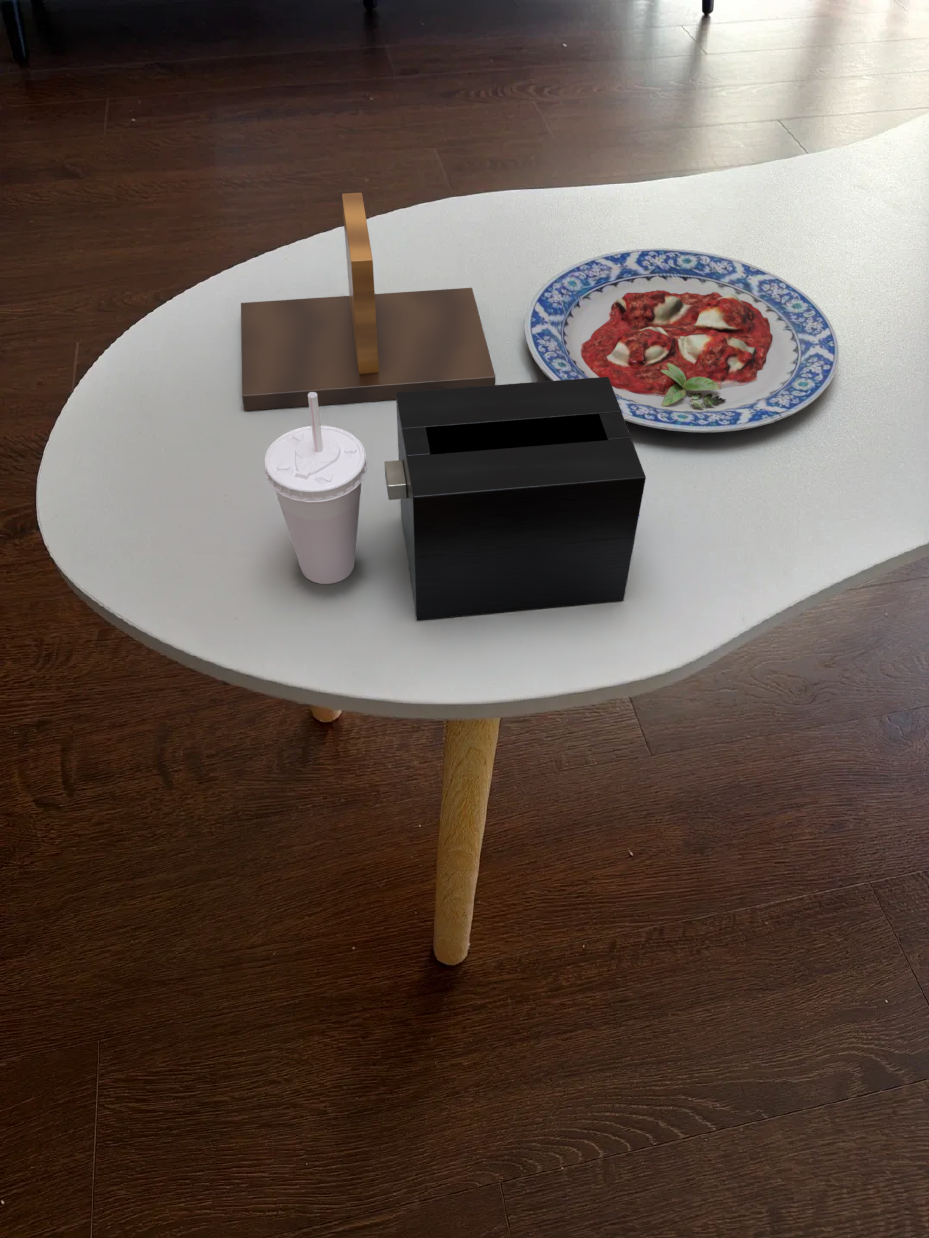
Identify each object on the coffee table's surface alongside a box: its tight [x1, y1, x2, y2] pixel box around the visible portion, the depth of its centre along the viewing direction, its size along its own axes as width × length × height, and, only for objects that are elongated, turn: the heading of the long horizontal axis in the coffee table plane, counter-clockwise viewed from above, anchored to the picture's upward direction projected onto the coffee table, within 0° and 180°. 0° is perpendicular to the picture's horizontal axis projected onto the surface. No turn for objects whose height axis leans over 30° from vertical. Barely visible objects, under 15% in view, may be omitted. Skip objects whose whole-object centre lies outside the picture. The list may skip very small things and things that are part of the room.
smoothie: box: [264, 392, 368, 585], centre depth 70 cm, size 6×6×14 cm
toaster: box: [383, 377, 647, 622], centre depth 72 cm, size 15×10×11 cm, turn 98°
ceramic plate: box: [524, 247, 840, 433], centre depth 91 cm, size 26×26×3 cm
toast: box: [341, 192, 379, 374], centre depth 87 cm, size 10×2×10 cm, turn 8°
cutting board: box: [240, 287, 496, 412], centre depth 91 cm, size 20×13×2 cm, turn 98°
